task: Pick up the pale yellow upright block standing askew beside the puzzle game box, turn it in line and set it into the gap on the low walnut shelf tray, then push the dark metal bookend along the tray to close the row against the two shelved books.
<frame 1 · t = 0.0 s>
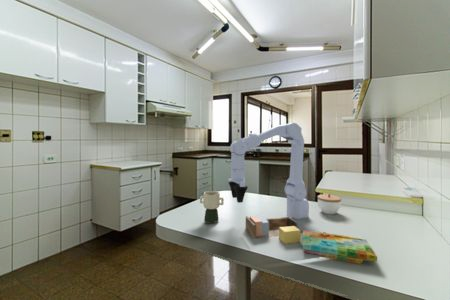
hand: (237, 199, 95), 10 cm above the counter, fingers open, 7 cm apart
puzzle game: (334, 253, 71), on the counter
pale yellow upright block: (289, 242, 77), on the counter
character mug: (211, 222, 96), on the counter
shelf tray: (274, 232, 85), on the counter
bookend: (295, 224, 87), point 3 cm above the counter, slide at 0.0 cm, touching shelf tray
row books: (275, 233, 85), resting on shelf tray
lidded jar: (328, 212, 109), on the counter
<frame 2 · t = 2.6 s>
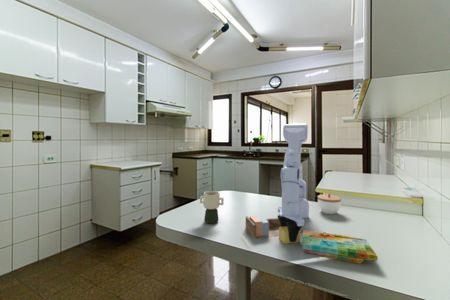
hand: (289, 238, 77), 1 cm above the counter, fingers closed on pale yellow upright block, 4 cm apart
pale yellow upright block: (289, 242, 77), on the counter, touching gripper
everything else where it was.
when the fingers open (4 cm above the counter, at t = 5.6 s): pale yellow upright block stays where it is, resting on shelf tray.
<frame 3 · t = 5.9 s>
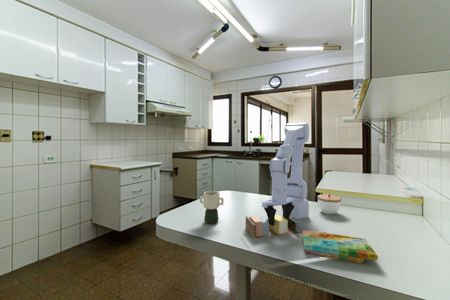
hand: (278, 223, 85), 4 cm above the counter, fingers open, 6 cm apart
pale yellow upright block: (278, 230, 85), point 1 cm above the counter, touching shelf tray
everything else where it was.
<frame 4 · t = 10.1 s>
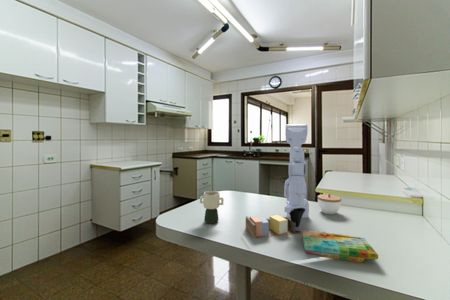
hand: (295, 226, 87), 2 cm above the counter, fingers closed
bookend: (293, 224, 86), point 3 cm above the counter, slide at 0.9 cm, touching gripper, shelf tray
everything else where it was.
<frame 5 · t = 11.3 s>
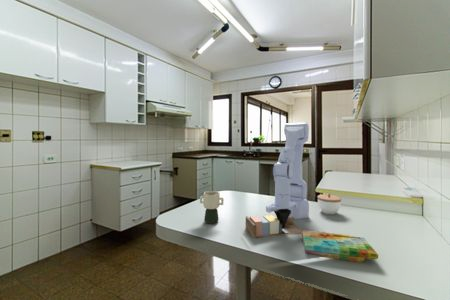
hand: (281, 227, 85), 2 cm above the counter, fingers closed
pale yellow upright block: (270, 230, 85), point 1 cm above the counter, touching bookend
bookend: (280, 225, 85), point 3 cm above the counter, slide at 6.5 cm, touching pale yellow upright block, gripper, shelf tray
everything else where it was.
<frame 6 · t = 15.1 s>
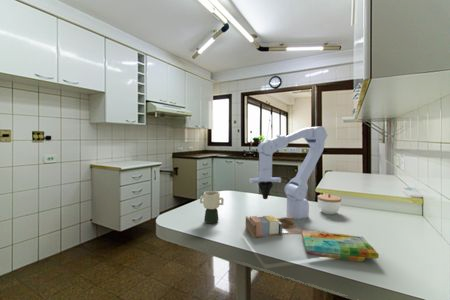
hand: (265, 198, 98), 10 cm above the counter, fingers closed
pale yellow upright block: (270, 230, 85), point 1 cm above the counter, touching shelf tray
bookend: (280, 225, 85), point 3 cm above the counter, slide at 6.4 cm, touching shelf tray
at the end: pale yellow upright block 0.6 cm from the target spot, point 0.8 cm above the counter; pale yellow upright block tilted 0°; bookend slide at 6.4 cm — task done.
